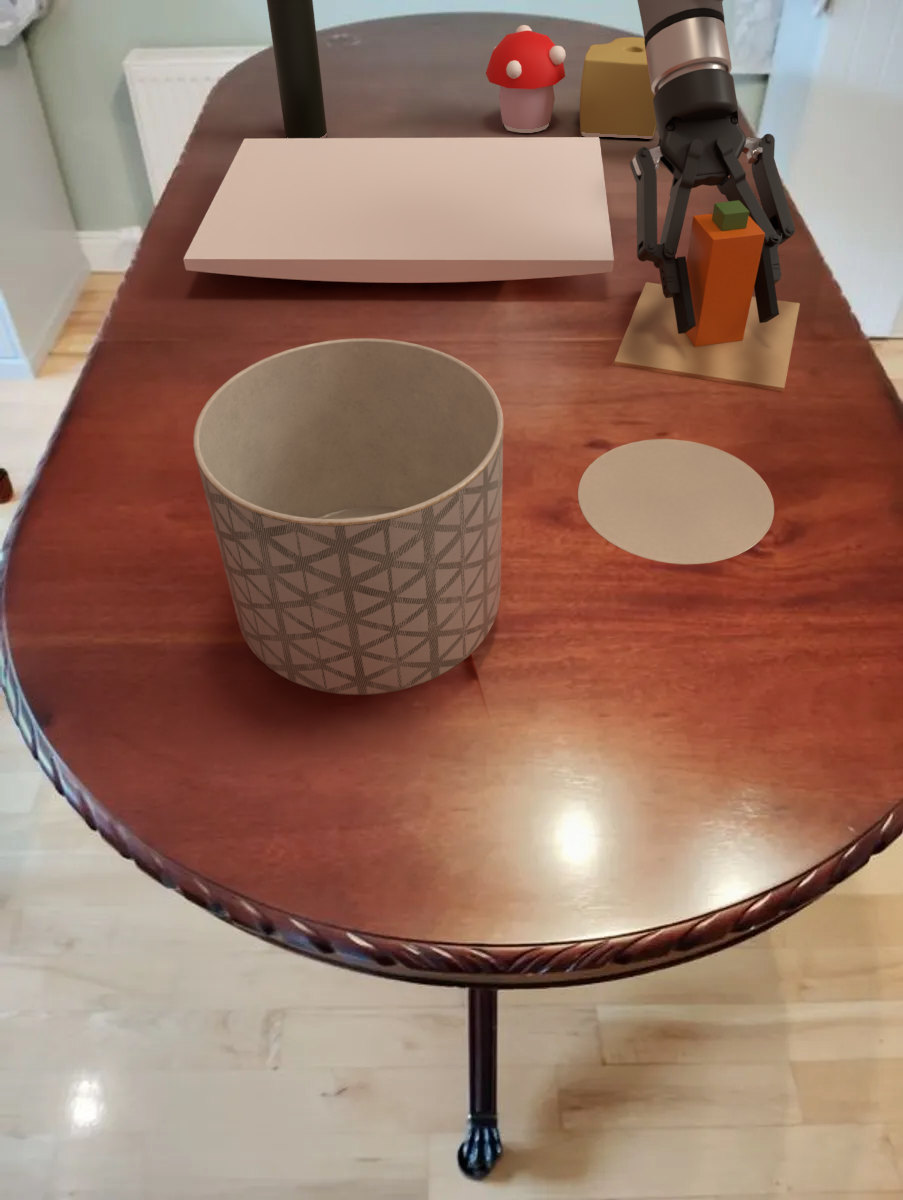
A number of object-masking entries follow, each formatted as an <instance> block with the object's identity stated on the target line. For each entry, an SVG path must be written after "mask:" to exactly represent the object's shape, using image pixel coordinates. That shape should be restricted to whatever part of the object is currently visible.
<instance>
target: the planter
mask: <svg viewBox="0 0 903 1200" xmlns="http://www.w3.org/2000/svg"><path fill="white" fill-rule="evenodd" d="M504 424H505V423H504V414H503V409H502V405H501V402H500V400H499V397H498V395H497V394H496V392H495V390H494V388H493V387H492V386H491V384H489V382H488V381H487V380H486V379H485V378H484V377H483V376H482V375H481V374H480V373H479V372H478V371H477V370H475V369H474V368H473V367H471V366H470V365H468V364H467V363H465V362H464V361H462V360H460V359H458V358H456V357H454V356H452V355H451V354H448V353H446V352H443V351H441V350H438V349H436V348H432V347H429V346H425V345H422V344H418V343H413V342H409V341H403V340H397V339H396V340H395V339H387V338H371V337H370V338H367V337H363V338H362V337H361V338H343V339H342V338H341V339H332V340H325V341H320V342H314V343H308V344H305V345H301V346H300V345H299V346H296V347H292V348H290V349H286V350H283V351H281V352H278V353H275V354H272V355H270V356H268V357H265V358H263V359H260V360H259V361H257V362H255V363H252V364H251V365H249V366H247V367H246V368H244V369H242V370H240V371H239V372H238V373H236V374H235V375H233V376H231V378H229V379H228V380H227V381H226V382H225V383H224V384H222V385H221V386H220V387H219V388H217V390H216V391H215V392H214V393H213V394H212V395H211V396H210V398H209V399H208V400H207V402H206V403H205V405H204V406H203V408H202V409H201V411H200V412H199V415H198V417H197V419H196V423H195V426H194V431H193V452H194V457H195V461H196V464H197V469H198V472H199V477H200V479H201V484H202V487H203V492H204V496H205V500H206V503H207V506H208V510H209V515H210V518H211V522H212V527H213V530H214V535H215V538H216V542H217V545H218V549H219V553H220V557H221V561H222V566H223V568H224V572H225V576H226V580H227V584H228V587H229V588H228V589H229V592H230V595H231V600H232V603H233V607H234V610H235V615H236V619H237V621H238V622H237V623H238V626H239V629H240V632H241V635H242V637H243V639H244V640H245V642H246V644H247V645H248V647H249V648H250V650H251V652H252V653H253V654H254V655H255V656H256V657H257V658H258V660H260V662H262V664H264V665H265V666H266V667H267V668H269V669H270V670H272V671H273V672H275V674H277V675H278V676H281V677H282V678H284V679H286V680H288V681H290V682H292V683H295V684H298V685H300V686H303V687H306V688H307V689H311V690H315V691H319V692H324V693H330V694H336V695H347V696H370V695H380V694H381V695H382V694H388V693H394V692H398V691H402V690H407V689H411V688H413V687H416V686H420V685H423V684H426V683H427V682H430V681H432V680H434V679H437V678H439V677H440V676H442V675H444V674H446V673H447V672H449V671H451V670H452V669H454V668H455V667H457V666H458V665H460V664H461V663H462V662H464V661H465V660H466V659H467V658H468V657H469V656H470V655H472V654H473V653H474V652H475V651H476V650H477V649H478V648H479V646H480V645H482V643H483V642H484V640H485V639H486V637H488V635H489V633H490V631H491V629H492V627H493V625H494V623H495V621H496V618H497V615H498V613H499V608H500V604H501V594H502V593H501V591H502V589H501V588H502V541H503V539H502V536H503V535H502V533H503V532H502V531H503V480H504V477H503V475H504V426H505V425H504Z"/></svg>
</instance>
